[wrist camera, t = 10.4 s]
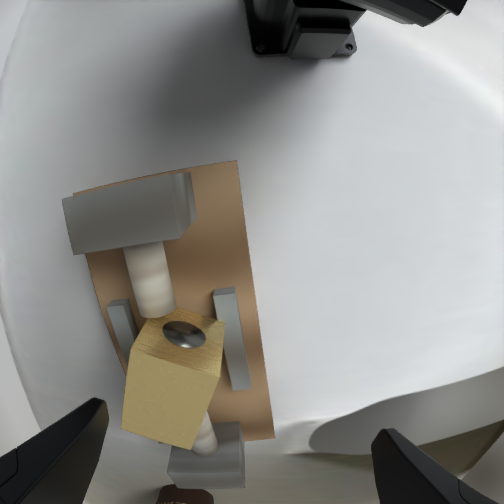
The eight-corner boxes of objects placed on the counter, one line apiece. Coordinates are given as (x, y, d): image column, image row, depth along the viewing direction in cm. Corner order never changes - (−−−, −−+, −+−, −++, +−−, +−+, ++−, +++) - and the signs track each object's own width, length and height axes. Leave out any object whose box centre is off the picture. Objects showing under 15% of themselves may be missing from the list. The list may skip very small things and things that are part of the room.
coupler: (199, 394, 18) (190, 450, 14) (142, 376, 18) (120, 428, 13) (225, 321, 17) (220, 375, 12) (158, 299, 16) (130, 347, 12)
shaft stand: (84, 191, 17) (22, 205, 11) (236, 161, 17) (233, 156, 11) (161, 431, 23) (148, 487, 17) (273, 425, 23) (280, 485, 16)
